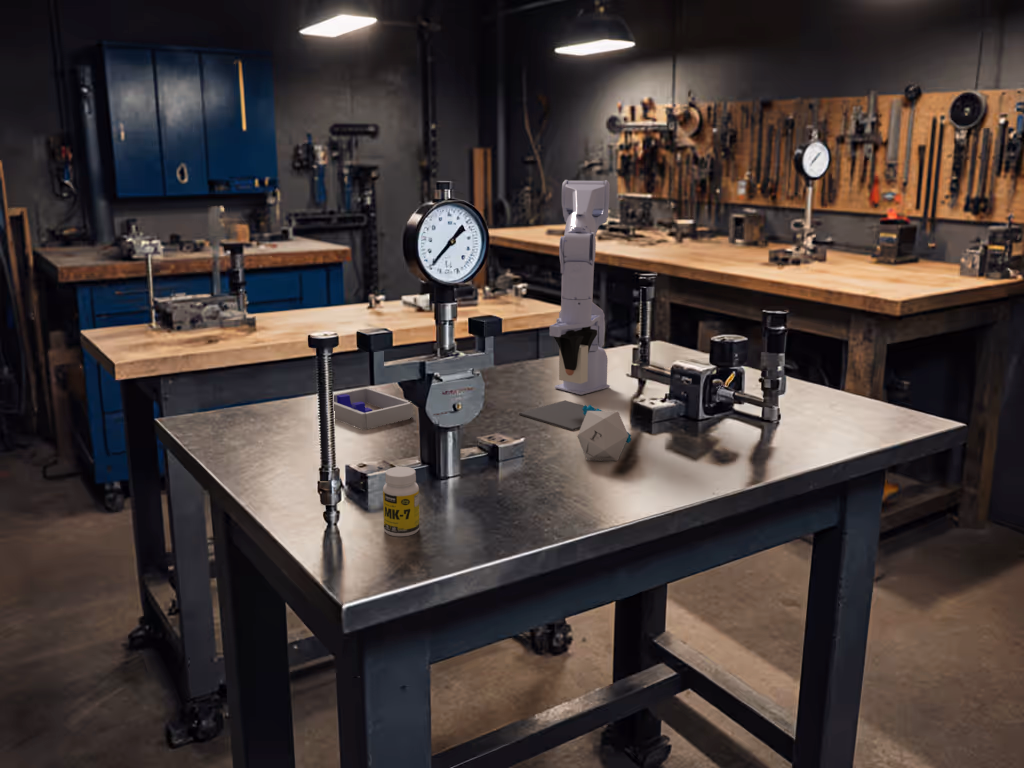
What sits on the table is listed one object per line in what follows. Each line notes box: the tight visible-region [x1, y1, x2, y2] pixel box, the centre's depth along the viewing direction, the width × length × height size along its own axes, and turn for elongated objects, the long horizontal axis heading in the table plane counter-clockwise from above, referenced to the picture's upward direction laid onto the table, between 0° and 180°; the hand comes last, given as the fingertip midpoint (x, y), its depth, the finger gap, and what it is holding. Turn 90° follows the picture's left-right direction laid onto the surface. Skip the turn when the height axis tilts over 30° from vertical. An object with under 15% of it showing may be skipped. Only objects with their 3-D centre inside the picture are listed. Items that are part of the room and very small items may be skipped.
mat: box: [518, 400, 585, 432], centre depth 170 cm, size 13×14×1 cm
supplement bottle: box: [382, 466, 420, 537], centre depth 117 cm, size 5×5×8 cm
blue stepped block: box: [337, 394, 374, 413], centre depth 168 cm, size 8×4×4 cm, turn 36°
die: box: [576, 410, 629, 462], centre depth 146 cm, size 8×9×10 cm
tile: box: [558, 345, 588, 384], centre depth 168 cm, size 2×5×7 cm, turn 52°
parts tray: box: [333, 387, 414, 431], centre depth 169 cm, size 12×16×3 cm
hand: (574, 367), depth 168 cm, fingers closed on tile, 2 cm apart
